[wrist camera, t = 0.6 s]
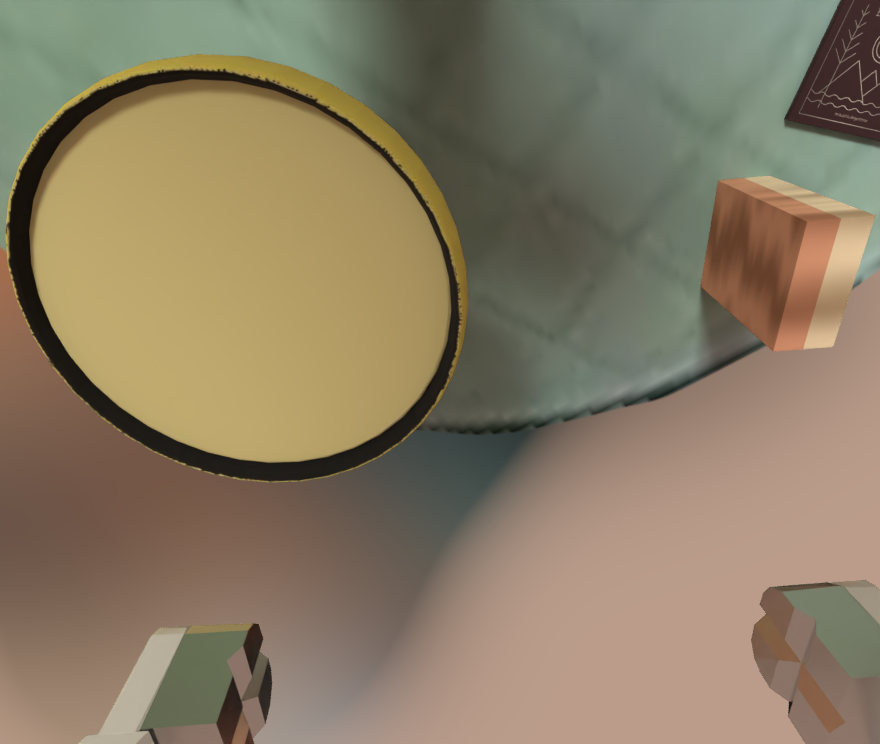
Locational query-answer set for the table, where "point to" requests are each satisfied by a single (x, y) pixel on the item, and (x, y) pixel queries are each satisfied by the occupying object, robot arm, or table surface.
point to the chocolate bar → (844, 74)
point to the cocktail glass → (238, 267)
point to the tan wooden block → (783, 260)
